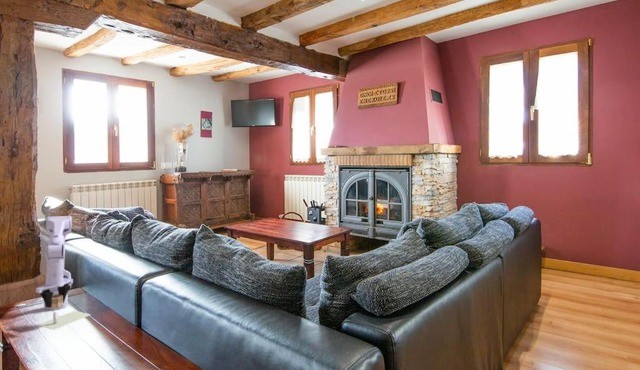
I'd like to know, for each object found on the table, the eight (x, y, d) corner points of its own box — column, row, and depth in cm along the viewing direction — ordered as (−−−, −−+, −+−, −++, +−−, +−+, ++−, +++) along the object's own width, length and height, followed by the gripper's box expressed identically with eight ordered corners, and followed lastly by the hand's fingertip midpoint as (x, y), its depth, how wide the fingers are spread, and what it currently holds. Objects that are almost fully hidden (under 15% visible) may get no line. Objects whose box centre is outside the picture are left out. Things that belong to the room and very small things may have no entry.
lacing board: (37, 327, 161) (37, 313, 161) (74, 313, 177) (75, 300, 177) (54, 332, 158) (54, 317, 158) (91, 317, 174) (91, 304, 174)
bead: (44, 307, 161) (44, 297, 161) (56, 302, 166) (56, 293, 166) (53, 309, 159) (53, 299, 159) (65, 304, 164) (65, 295, 164)
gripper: (44, 279, 154) (44, 312, 155) (78, 270, 167) (77, 300, 168) (32, 276, 156) (32, 309, 157) (66, 267, 170) (66, 298, 171)
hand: (55, 304), depth 163 cm, fingers closed on bead, 5 cm apart
